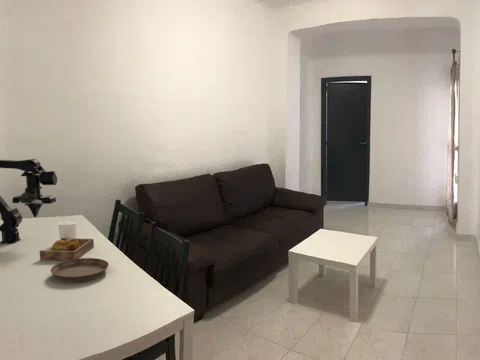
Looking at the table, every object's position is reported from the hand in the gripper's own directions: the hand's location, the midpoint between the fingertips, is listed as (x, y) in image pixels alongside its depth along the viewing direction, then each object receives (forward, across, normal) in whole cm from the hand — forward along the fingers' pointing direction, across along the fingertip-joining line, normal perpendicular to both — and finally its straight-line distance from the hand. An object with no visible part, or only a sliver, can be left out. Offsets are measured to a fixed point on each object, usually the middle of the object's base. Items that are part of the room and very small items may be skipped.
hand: (35, 216), depth 189 cm
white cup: (+12, +17, -2) cm, 21 cm away
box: (+12, +24, -17) cm, 32 cm away
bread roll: (+12, +23, -19) cm, 32 cm away
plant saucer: (+12, +40, -40) cm, 58 cm away
